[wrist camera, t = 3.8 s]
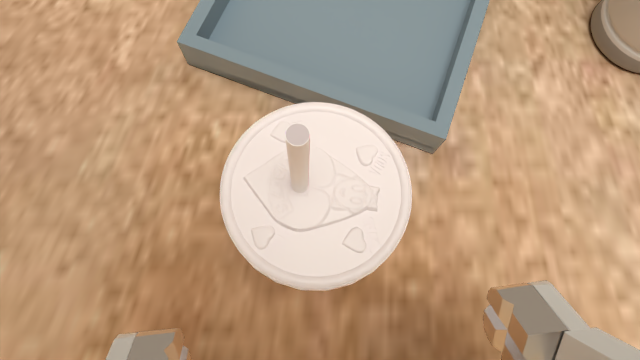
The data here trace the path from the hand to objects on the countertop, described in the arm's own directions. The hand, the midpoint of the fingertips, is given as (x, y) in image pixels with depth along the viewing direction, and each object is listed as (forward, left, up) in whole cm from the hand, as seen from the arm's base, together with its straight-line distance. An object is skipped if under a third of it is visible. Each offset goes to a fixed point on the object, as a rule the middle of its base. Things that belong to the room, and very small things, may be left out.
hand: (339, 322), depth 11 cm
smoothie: (-2, +4, -11) cm, 12 cm away
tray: (-5, +19, -11) cm, 22 cm away
